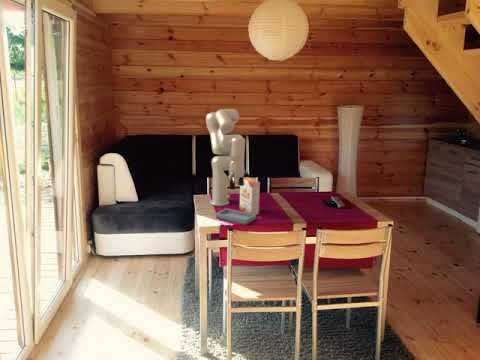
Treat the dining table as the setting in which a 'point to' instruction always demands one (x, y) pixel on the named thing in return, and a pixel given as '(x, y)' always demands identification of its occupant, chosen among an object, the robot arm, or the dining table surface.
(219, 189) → the robot arm
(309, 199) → the dining table surface
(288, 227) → the dining table surface
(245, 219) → the tray
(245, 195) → the cracker box
